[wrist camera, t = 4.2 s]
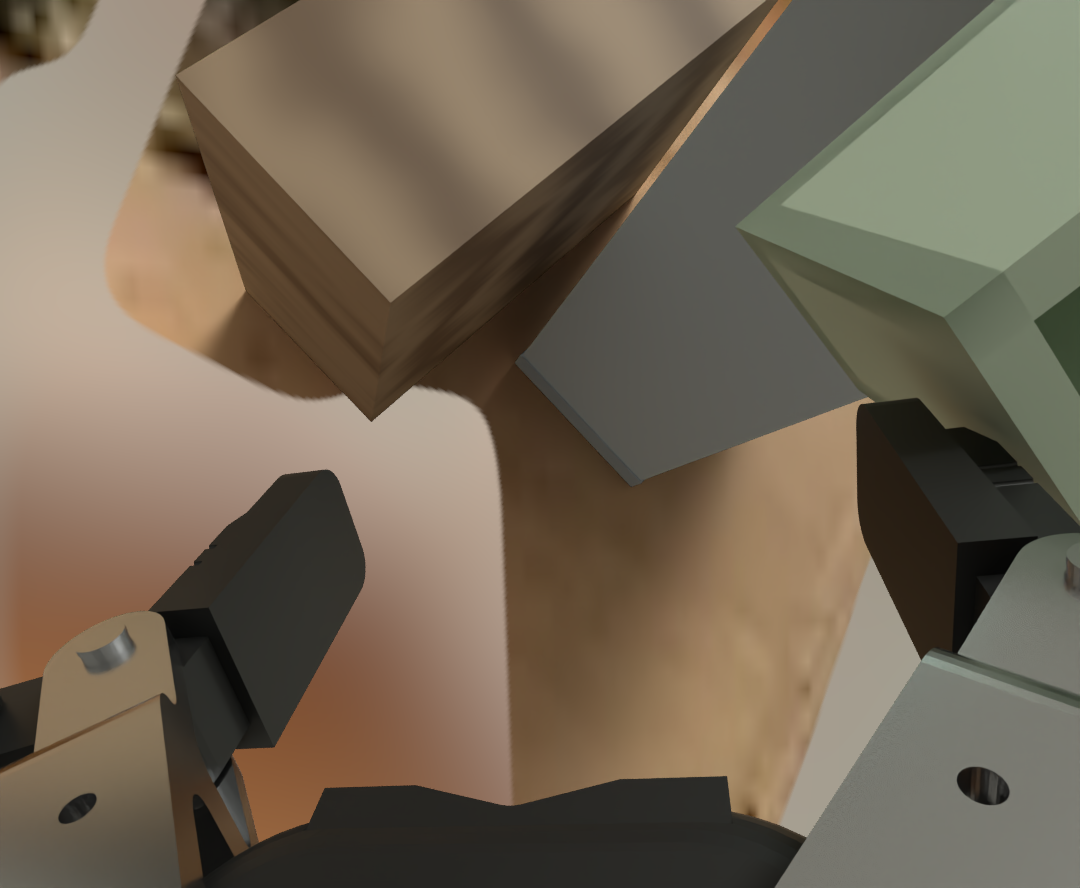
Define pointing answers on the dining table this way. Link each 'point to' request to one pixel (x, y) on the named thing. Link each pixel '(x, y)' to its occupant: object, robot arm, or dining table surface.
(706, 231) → the block
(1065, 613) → the robot arm
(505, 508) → the dining table surface
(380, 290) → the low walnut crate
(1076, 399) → the sage crate
